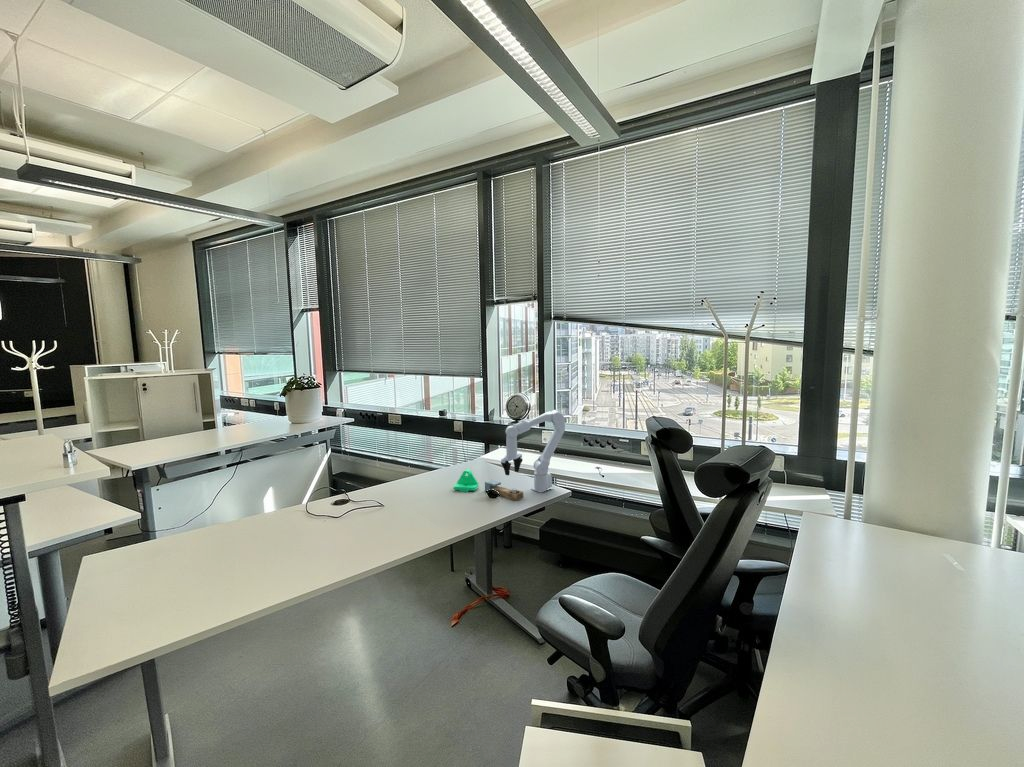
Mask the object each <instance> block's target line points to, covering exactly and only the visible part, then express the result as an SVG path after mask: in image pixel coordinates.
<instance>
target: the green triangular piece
mask: <svg viewBox="0 0 1024 767" xmlns="http://www.w3.org/2000/svg"><path fill="white" fill-rule="evenodd" d="M453 485H454V486H453V490H457V491H459V492H460V493H461V492H463V493H464V492H465V493H468V492H470V491H476V490H477V489H478V487H479V482H478V480H477V479H476V478H475V475H474V474H473V472H472V471H471V470H470V469H468V468H467V469H464V470H463V472H462V474H461V476H460V477H459V478H458V480H457V481H456V483H455V484H453Z"/></svg>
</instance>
